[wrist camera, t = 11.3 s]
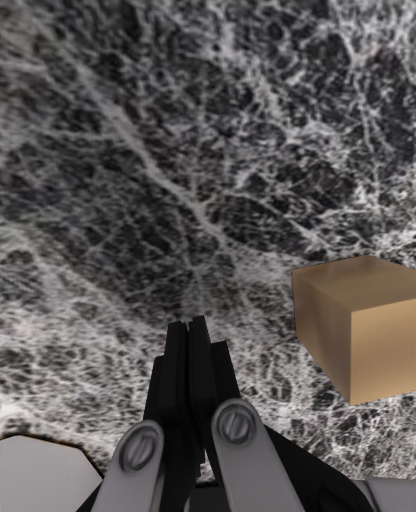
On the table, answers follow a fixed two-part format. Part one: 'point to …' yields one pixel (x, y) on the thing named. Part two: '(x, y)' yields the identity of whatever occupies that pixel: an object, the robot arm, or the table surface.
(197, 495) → the camera
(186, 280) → the table surface
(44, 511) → the cup
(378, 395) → the block
